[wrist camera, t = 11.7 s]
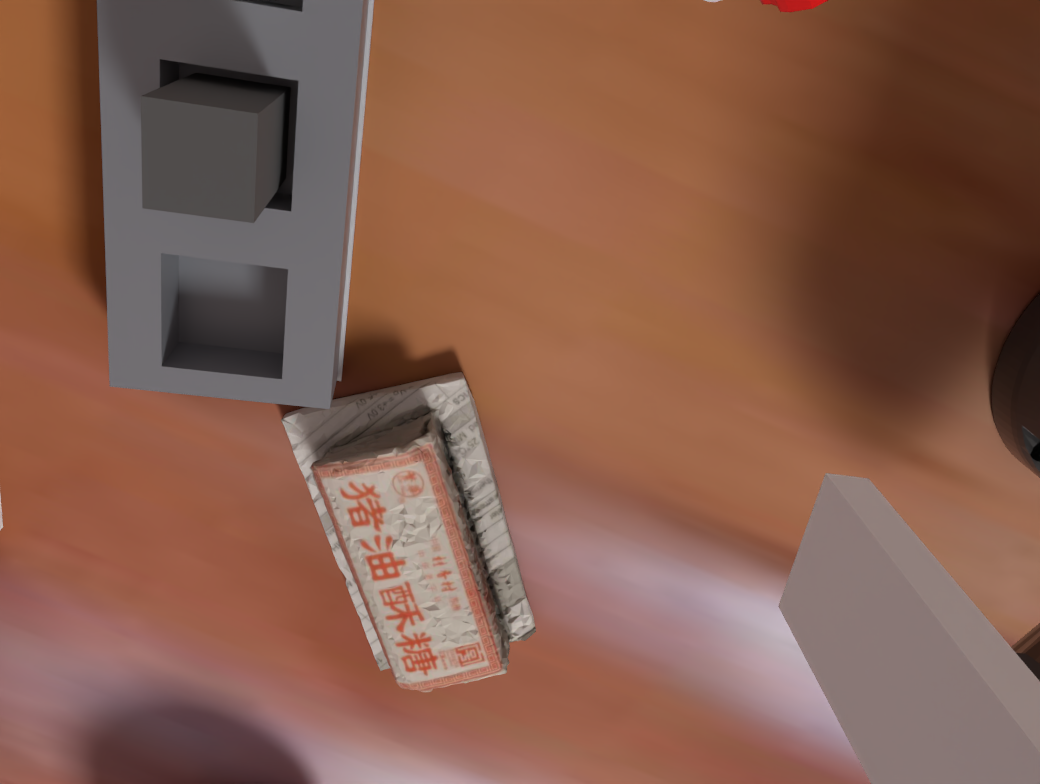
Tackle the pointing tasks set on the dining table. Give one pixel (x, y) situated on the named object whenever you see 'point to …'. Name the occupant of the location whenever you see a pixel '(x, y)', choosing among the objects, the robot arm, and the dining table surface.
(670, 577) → the dining table surface
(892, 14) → the dining table surface
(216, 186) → the dark grey block
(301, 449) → the packaged product
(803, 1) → the electrical switch box
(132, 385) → the socket strip
